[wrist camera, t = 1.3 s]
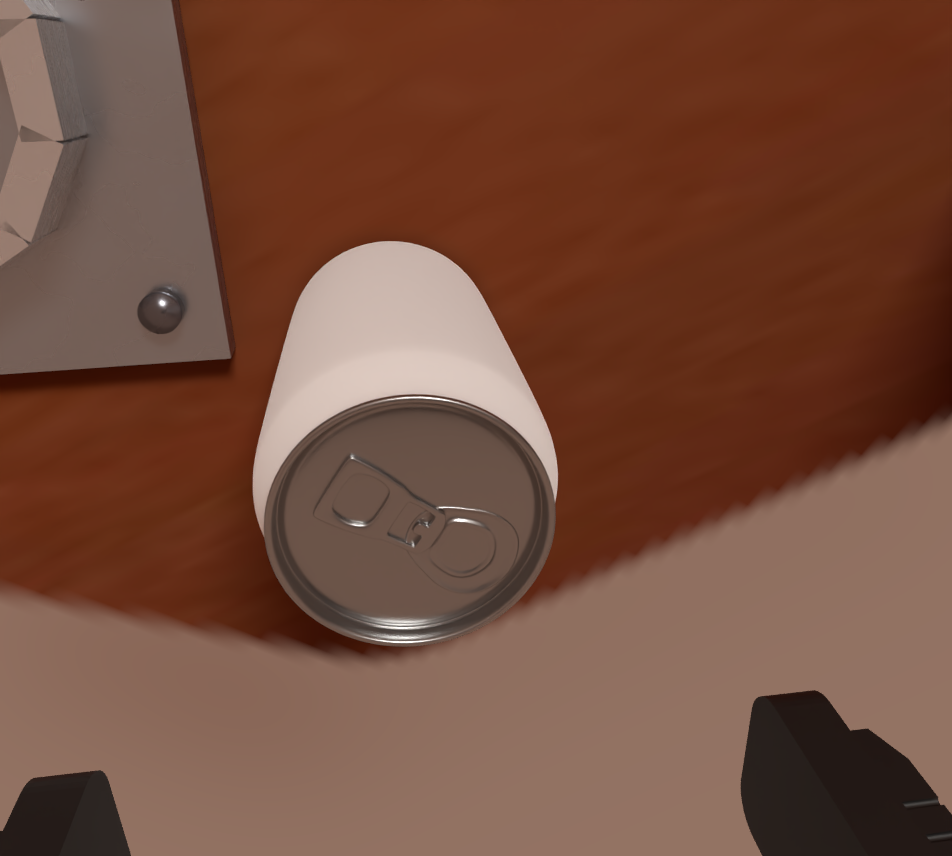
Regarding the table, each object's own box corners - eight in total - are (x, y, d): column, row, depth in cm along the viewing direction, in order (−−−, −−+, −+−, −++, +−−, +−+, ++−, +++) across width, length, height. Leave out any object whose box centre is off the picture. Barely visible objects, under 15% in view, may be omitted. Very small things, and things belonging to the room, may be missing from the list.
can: (424, 457, 28) (463, 705, 17) (255, 370, 26) (179, 589, 15) (527, 304, 26) (642, 474, 16) (354, 196, 24) (348, 306, 13)
